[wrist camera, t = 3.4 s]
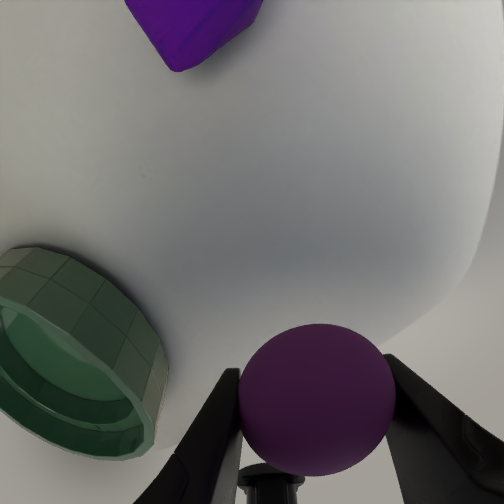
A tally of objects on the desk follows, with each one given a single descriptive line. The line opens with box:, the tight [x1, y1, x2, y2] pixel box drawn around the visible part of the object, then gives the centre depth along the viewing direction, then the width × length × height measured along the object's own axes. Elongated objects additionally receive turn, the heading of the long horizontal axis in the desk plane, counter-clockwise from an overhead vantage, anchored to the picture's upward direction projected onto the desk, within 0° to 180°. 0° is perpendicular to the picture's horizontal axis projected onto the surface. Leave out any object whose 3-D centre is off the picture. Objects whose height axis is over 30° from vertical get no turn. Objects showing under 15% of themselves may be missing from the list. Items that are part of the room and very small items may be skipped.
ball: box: [238, 324, 396, 476], centre depth 8 cm, size 4×4×4 cm
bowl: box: [0, 247, 169, 461], centre depth 15 cm, size 14×14×5 cm
